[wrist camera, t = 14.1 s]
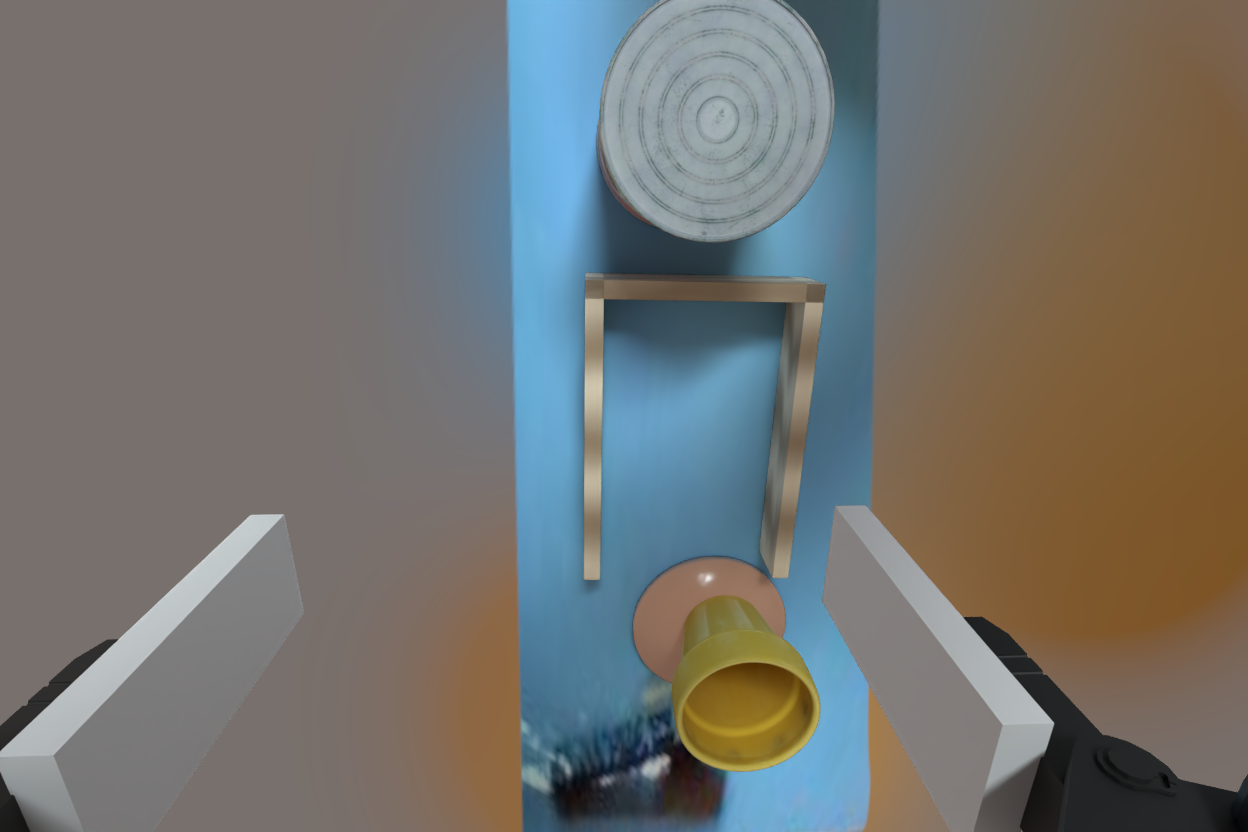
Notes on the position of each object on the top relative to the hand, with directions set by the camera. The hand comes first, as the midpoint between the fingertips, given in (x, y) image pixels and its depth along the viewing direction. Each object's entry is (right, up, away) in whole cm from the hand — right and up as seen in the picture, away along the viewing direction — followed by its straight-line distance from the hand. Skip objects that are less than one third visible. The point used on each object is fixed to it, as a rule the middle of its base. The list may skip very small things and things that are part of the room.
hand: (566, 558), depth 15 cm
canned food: (+5, +22, +26) cm, 34 cm away
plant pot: (+10, -14, +38) cm, 42 cm away
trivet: (+9, -14, +38) cm, 42 cm away
